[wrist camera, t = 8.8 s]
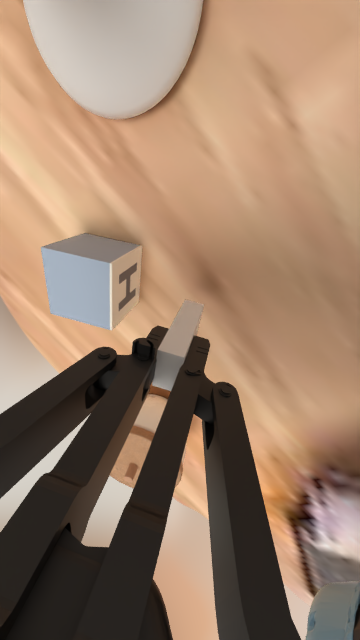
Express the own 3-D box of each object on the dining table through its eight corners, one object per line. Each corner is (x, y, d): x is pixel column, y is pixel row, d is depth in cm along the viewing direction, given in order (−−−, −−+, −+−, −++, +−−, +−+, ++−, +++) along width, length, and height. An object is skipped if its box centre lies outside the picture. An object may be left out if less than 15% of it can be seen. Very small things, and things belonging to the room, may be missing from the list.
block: (112, 263, 18) (40, 247, 19) (112, 330, 22) (50, 313, 22) (142, 245, 23) (85, 233, 24) (139, 301, 27) (88, 288, 27)
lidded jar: (107, 386, 34) (64, 448, 27) (175, 374, 30) (147, 443, 22) (142, 438, 38) (113, 506, 30) (207, 434, 34) (192, 511, 26)
